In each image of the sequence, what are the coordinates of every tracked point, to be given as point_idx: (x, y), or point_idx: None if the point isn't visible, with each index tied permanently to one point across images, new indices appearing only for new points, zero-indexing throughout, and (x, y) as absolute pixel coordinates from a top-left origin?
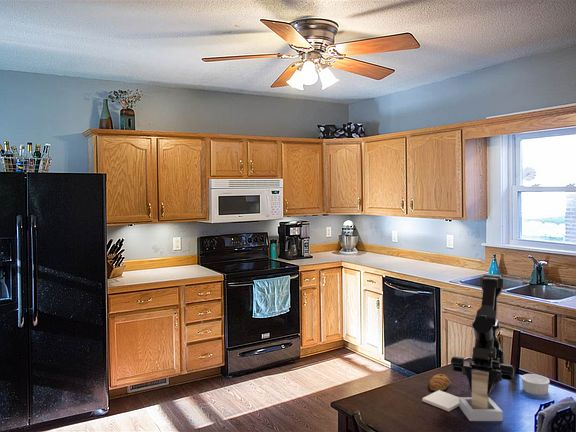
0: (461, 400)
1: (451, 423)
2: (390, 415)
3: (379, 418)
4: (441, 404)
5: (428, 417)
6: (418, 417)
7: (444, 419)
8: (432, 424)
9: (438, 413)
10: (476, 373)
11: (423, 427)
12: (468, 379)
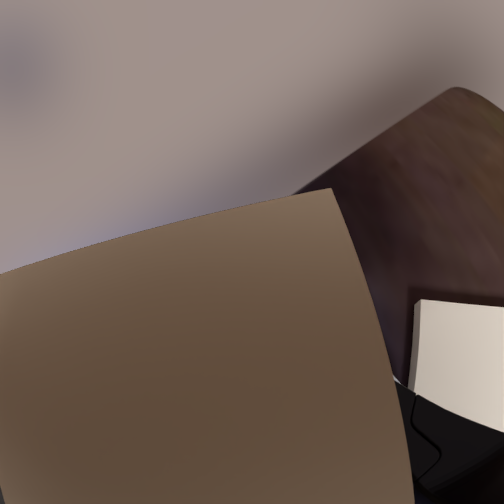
0: (394, 378)
1: (342, 200)
2: (495, 142)
3: (490, 117)
4: (469, 317)
5: (434, 191)
6: (452, 171)
7: (384, 214)
8: (388, 153)
9: (435, 250)
10: (243, 404)
11: (392, 125)
12: (420, 397)
